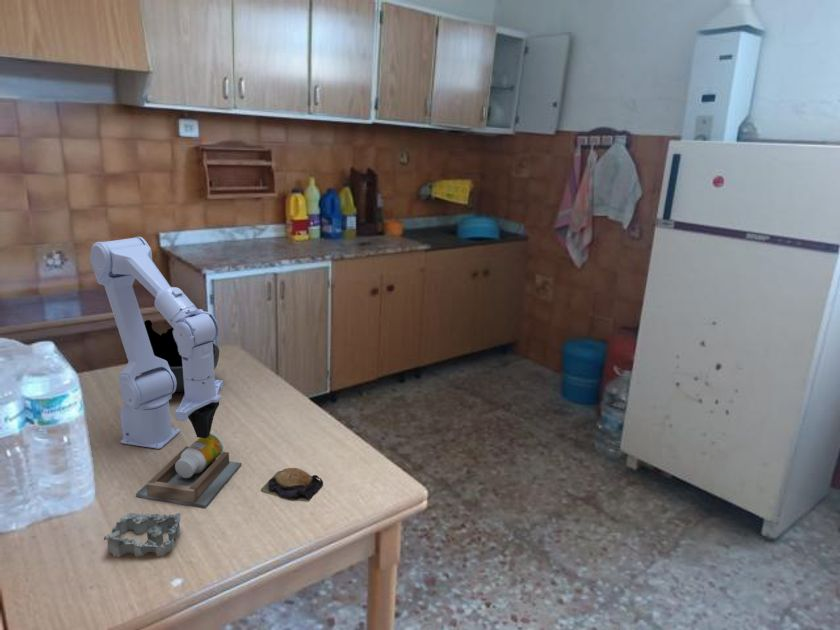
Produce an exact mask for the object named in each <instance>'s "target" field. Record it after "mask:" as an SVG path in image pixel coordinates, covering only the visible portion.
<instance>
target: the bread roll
mask: <svg viewBox="0 0 840 630" xmlns="http://www.w3.org/2000/svg"><path fill="white" fill-rule="evenodd" d="M322 479H323V478H321V477H320V476H318V475H317V474H313V475H312V474H310V473H308V472H306V471H305V470H303V469H302V468H297V467H288V468H285V469H282V470H278V471H276V472H275V473H274V475H273V476H272V477H271V478H270V479H269V480H268V481H267V482H266V483H265V484H264V485H263V486H262V487H261V489H260V492H262V493H264V494H268V495H271V496H275V497H279V498H282V499H287V500H293V501H297V502H305V503H308V502H310V501H312V499H313V497H314V496H315V495H316V494H317V493H318V492H319V491H320V490H321V489H322V488H323V485H324V481H323V480H322Z"/></svg>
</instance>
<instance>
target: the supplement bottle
mask: <svg viewBox="0 0 840 630" xmlns="http://www.w3.org/2000/svg"><path fill="white" fill-rule="evenodd" d="M187 447H188V448H187V449H186V450H185V451H184V452H183V453H182V454H181V458H180V459H179V460H178V461H177V462H176V464H175V470H176V472H177V473H178V474H179V475H180V476H181V477H183V478H189V477H191V476H192V475H193V474H197V473H200V472H202V471H203V470H204V469H205V468H206V467H207V466H208V465H209V464H211V463H212V462H213V461H214V460H215V459H217V458H218V457H219V456H220V455H221V454H222V453H223V452H224V443H223V442H222V440H221V438H220V437H219V436H217V435H216V434H215V433H210V435H209V436H208V437H207V438H200V437H198V438H197V440H195V442H193V443H191V444H190V445H189V446H187Z"/></svg>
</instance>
